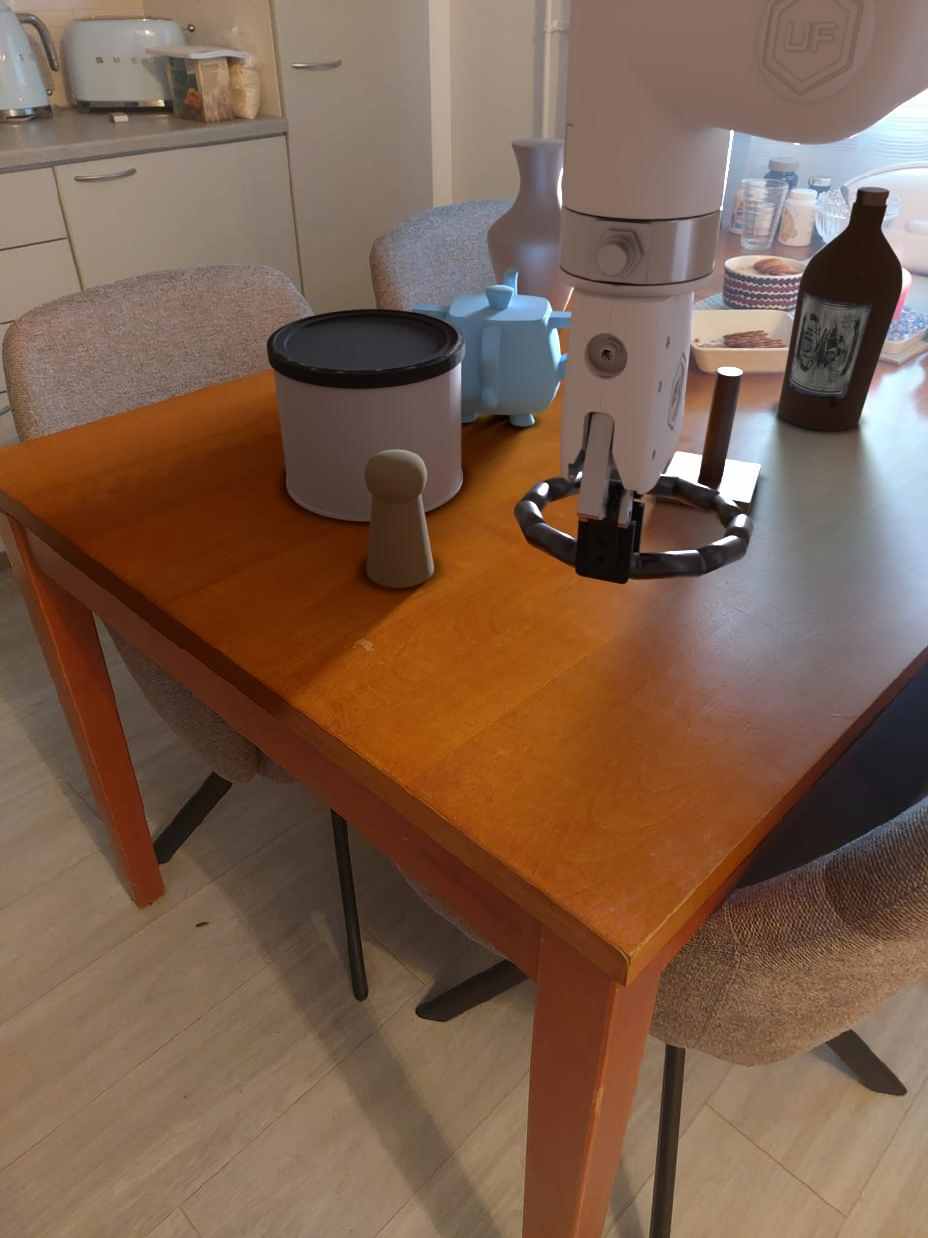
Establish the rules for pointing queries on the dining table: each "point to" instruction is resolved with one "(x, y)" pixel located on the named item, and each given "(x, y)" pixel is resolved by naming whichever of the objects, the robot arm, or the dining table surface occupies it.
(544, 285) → the vase
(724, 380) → the peg
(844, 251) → the olive oil
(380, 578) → the wooden peg doll
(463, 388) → the teapot
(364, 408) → the container
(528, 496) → the ring
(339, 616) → the dining table surface
